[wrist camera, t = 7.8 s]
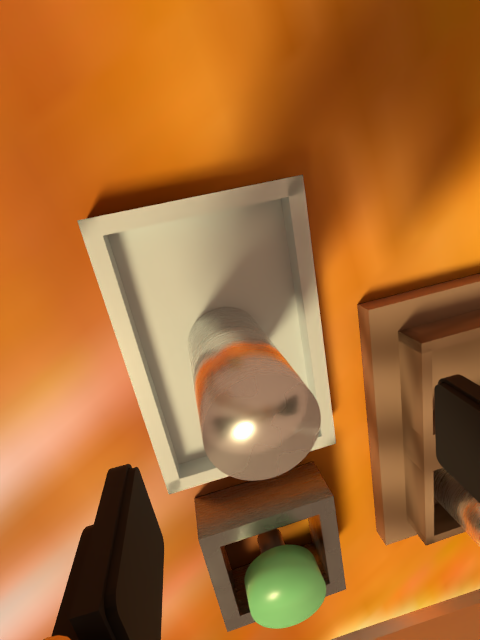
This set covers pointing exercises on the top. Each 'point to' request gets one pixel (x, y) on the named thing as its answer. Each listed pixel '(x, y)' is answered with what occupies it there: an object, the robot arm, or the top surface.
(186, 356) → the tray
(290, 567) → the button
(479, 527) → the cylinder
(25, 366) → the top surface
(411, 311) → the brown compartment tray
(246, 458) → the cylinder
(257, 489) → the open wooden box
